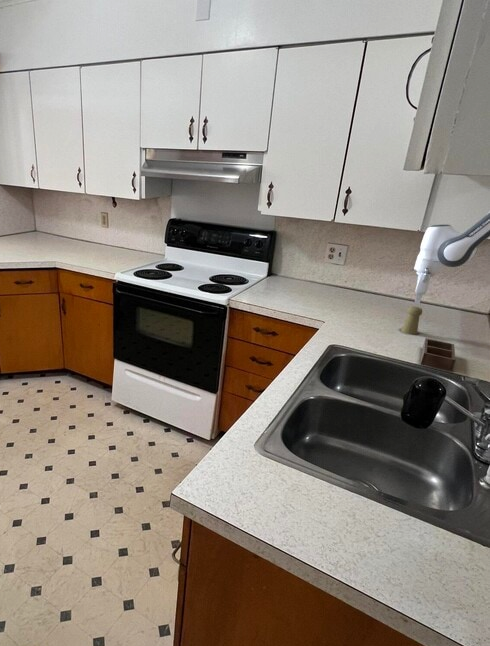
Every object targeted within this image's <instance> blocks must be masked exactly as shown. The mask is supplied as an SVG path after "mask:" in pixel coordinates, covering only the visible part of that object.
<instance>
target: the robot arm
mask: <svg viewBox="0 0 490 646" xmlns="http://www.w3.org/2000/svg"><path fill="white" fill-rule="evenodd" d="M489 238H490V211H489V212H488V213H486V215H484V216H483V217H482V218H481V219H479V220H478V221H477V222H476V223H474V224H473V225H472V226H470V228H468V229H467V230H466V231H464V232H463V233H461V232H459V231H458V230H457V229H455V228H454V227H453V226H452V225H451V224H433V225H431V226H428V227H427V229H426V230H425V231H424V234H423V237H422V240H421V242H420V246H419V247H420V251H419V253H418V255H417V257H416V260H415V262H414V263H415V264H414V267H413V269H414V271H416V275H417V281H416V286H415V290H414V292H415V294H416V295H415V299H414V304H418V305H419V304H420V303H421V300H422V298H423V296H424V295H426V293H427V291H428V287H429V284H430V281H431V278H433V277H435V275H436V274H439V273H440V272H441V269H442V265H443V266H446V267H448V268H458V267H461V266H462V265H464V264H465V263H466V262H468V261H470V260H471V259H472V258H474V257H475V256H476V254H477V252H478V246H479V245H481V244H482V243H484V242H485V241H486V240H487V239H489Z"/></svg>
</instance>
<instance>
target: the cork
mask: <svg viewBox="0 0 490 646" xmlns="http://www.w3.org/2000/svg"><path fill="white" fill-rule="evenodd" d="M422 314H423V309H422V308H421V307H419V306H415V305H414V306H412V305H411V306H409V307H408V309H407V316H406V318H405V320H404V323H403V325H402V327H401V329H400V331H401V332H402V333H404V334H408V335H418V331H419V322H420V317H421V315H422Z"/></svg>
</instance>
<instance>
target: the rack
mask: <svg viewBox="0 0 490 646" xmlns="http://www.w3.org/2000/svg"><path fill="white" fill-rule="evenodd" d="M455 363H456V350H455V344H454V343H451V342H447V341H442V340H441V341H440V340H436V339H431V338H424V342H423V345H422V348H421V357H420V366H425V367H429V368H433V369H437V370H442V371H446V372H450V373H452V372H453V369H454V366H455Z"/></svg>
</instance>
